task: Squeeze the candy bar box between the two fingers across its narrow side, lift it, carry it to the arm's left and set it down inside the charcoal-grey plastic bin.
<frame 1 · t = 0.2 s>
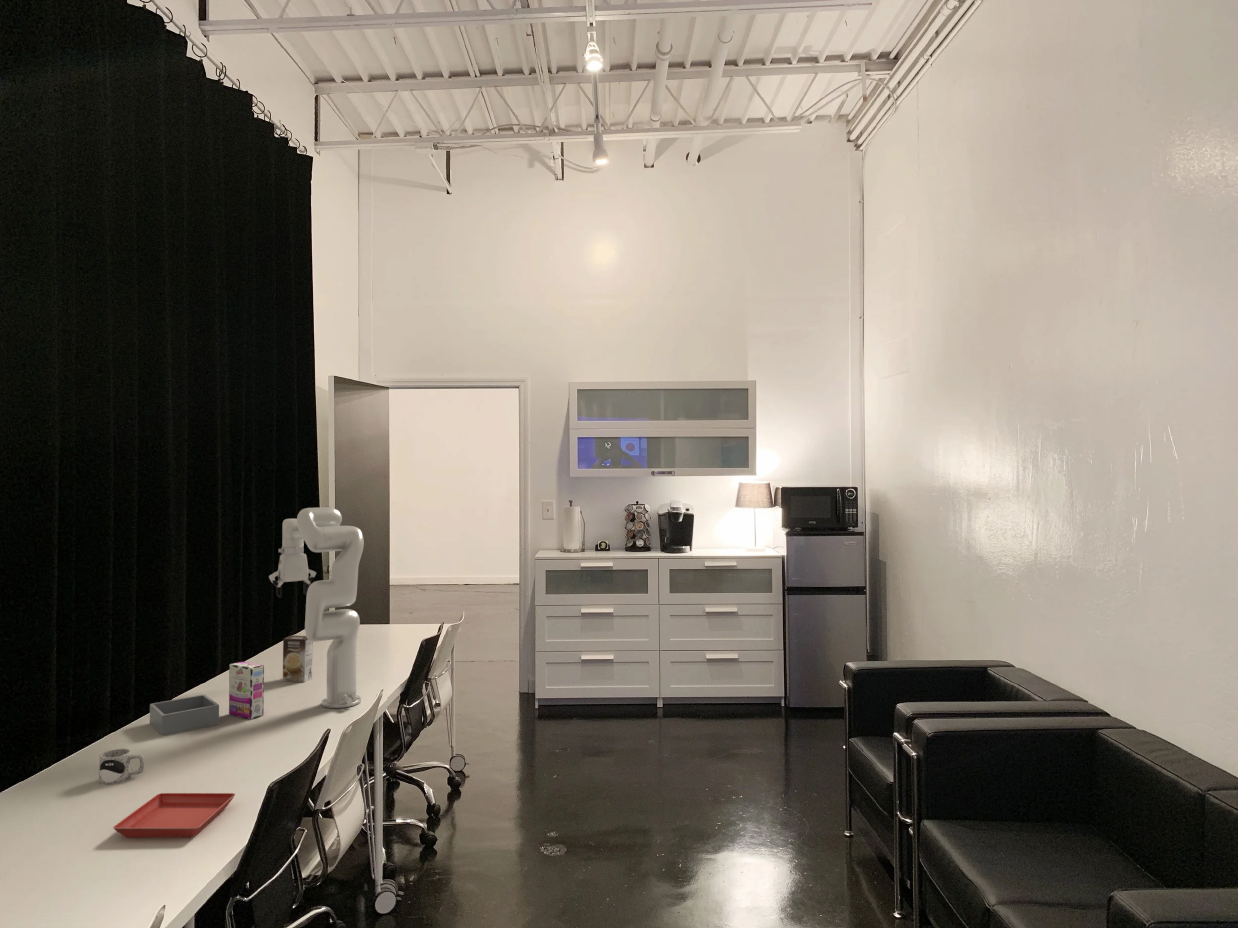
hand: (292, 595, 295), 31 cm above the table, fingers open, 9 cm apart
mug: (122, 779, 198), on the table
candy bar box: (246, 715, 249), on the table
bin: (184, 723, 240), on the table
plant saucer: (177, 824, 173), on the table
coffee box: (297, 680, 292), on the table
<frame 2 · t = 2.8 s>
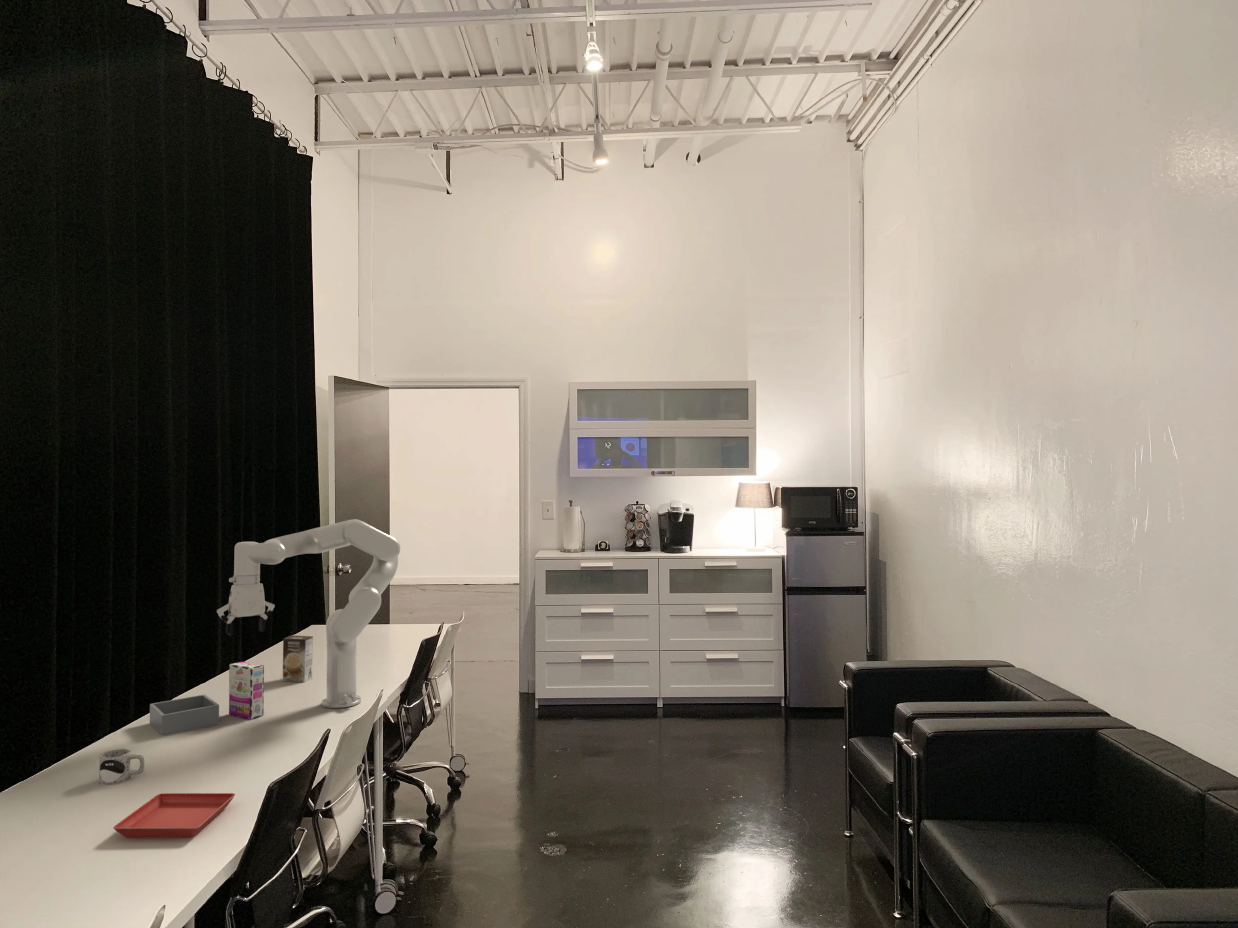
hand: (246, 633, 249), 26 cm above the table, fingers open, 9 cm apart
nothing on the table moved.
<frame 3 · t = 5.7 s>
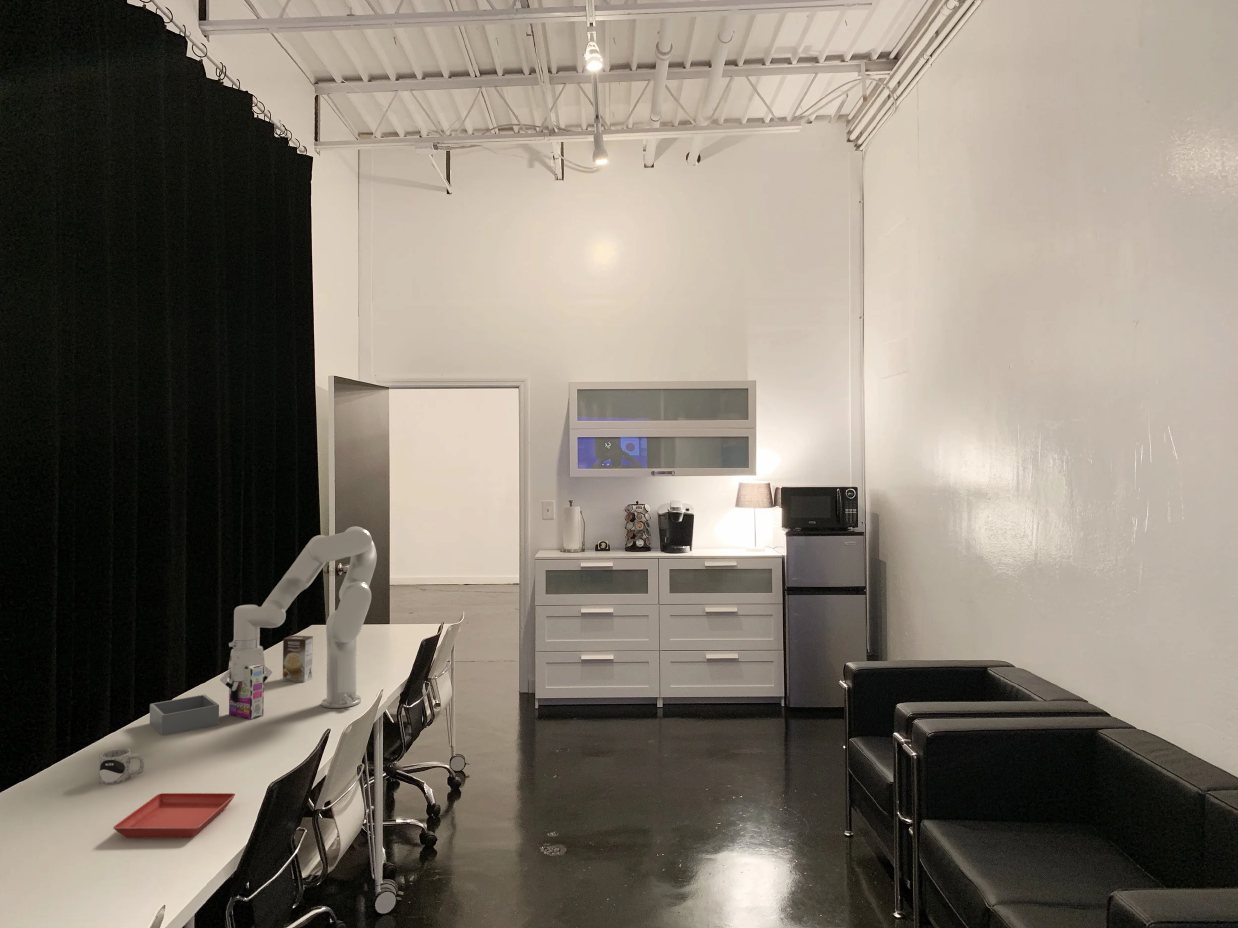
hand: (246, 699, 249), 5 cm above the table, fingers closed on candy bar box, 6 cm apart
candy bar box: (246, 715, 249), on the table, touching gripper
everything else where it was.
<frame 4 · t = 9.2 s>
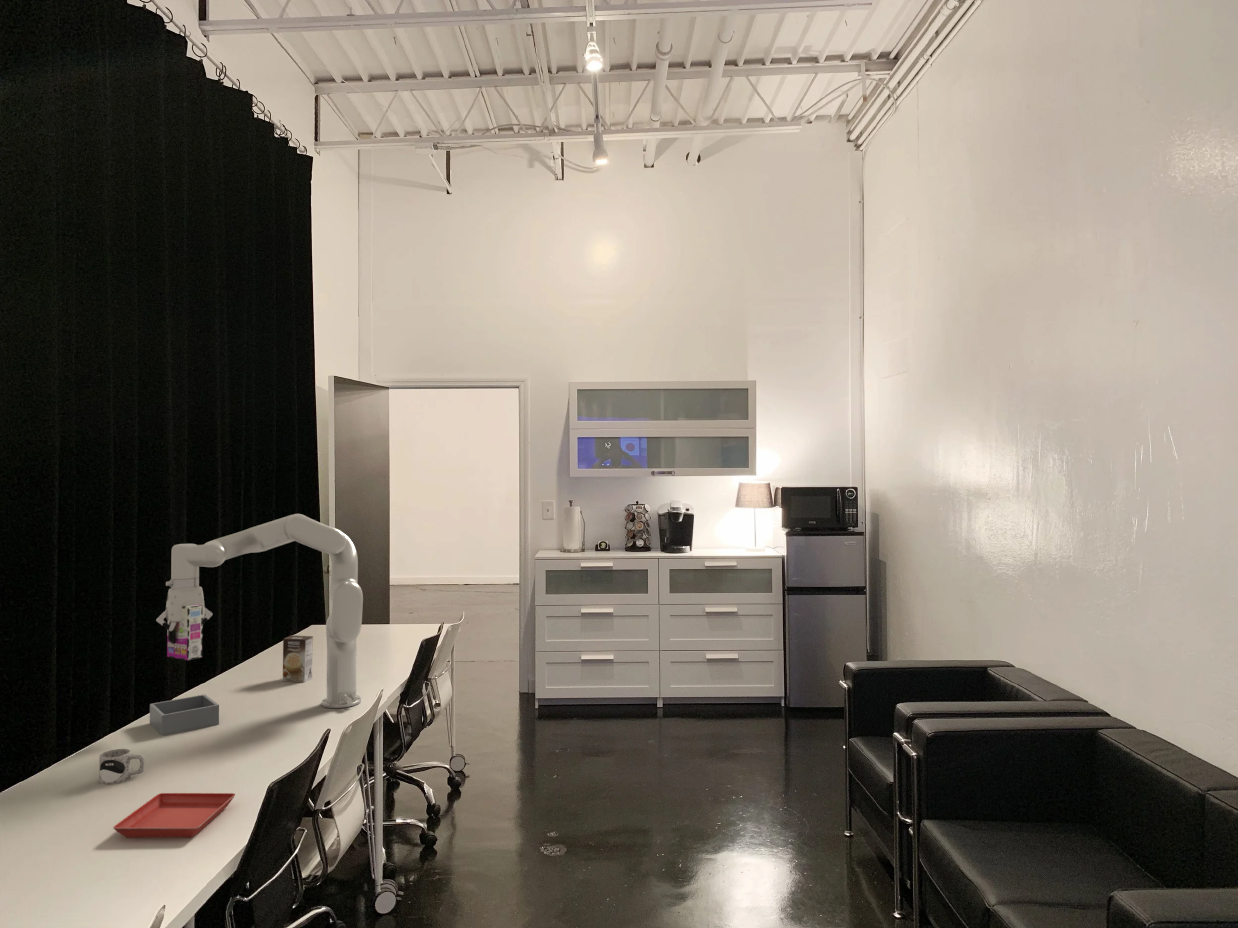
hand: (184, 640, 241), 26 cm above the table, fingers closed on candy bar box, 6 cm apart
candy bar box: (184, 657, 241), point 20 cm above the table, touching gripper
everything else where it was.
when the fingers open (8 cm above the table, at t = 13.1 s): candy bar box drops 2 cm, resting on bin.
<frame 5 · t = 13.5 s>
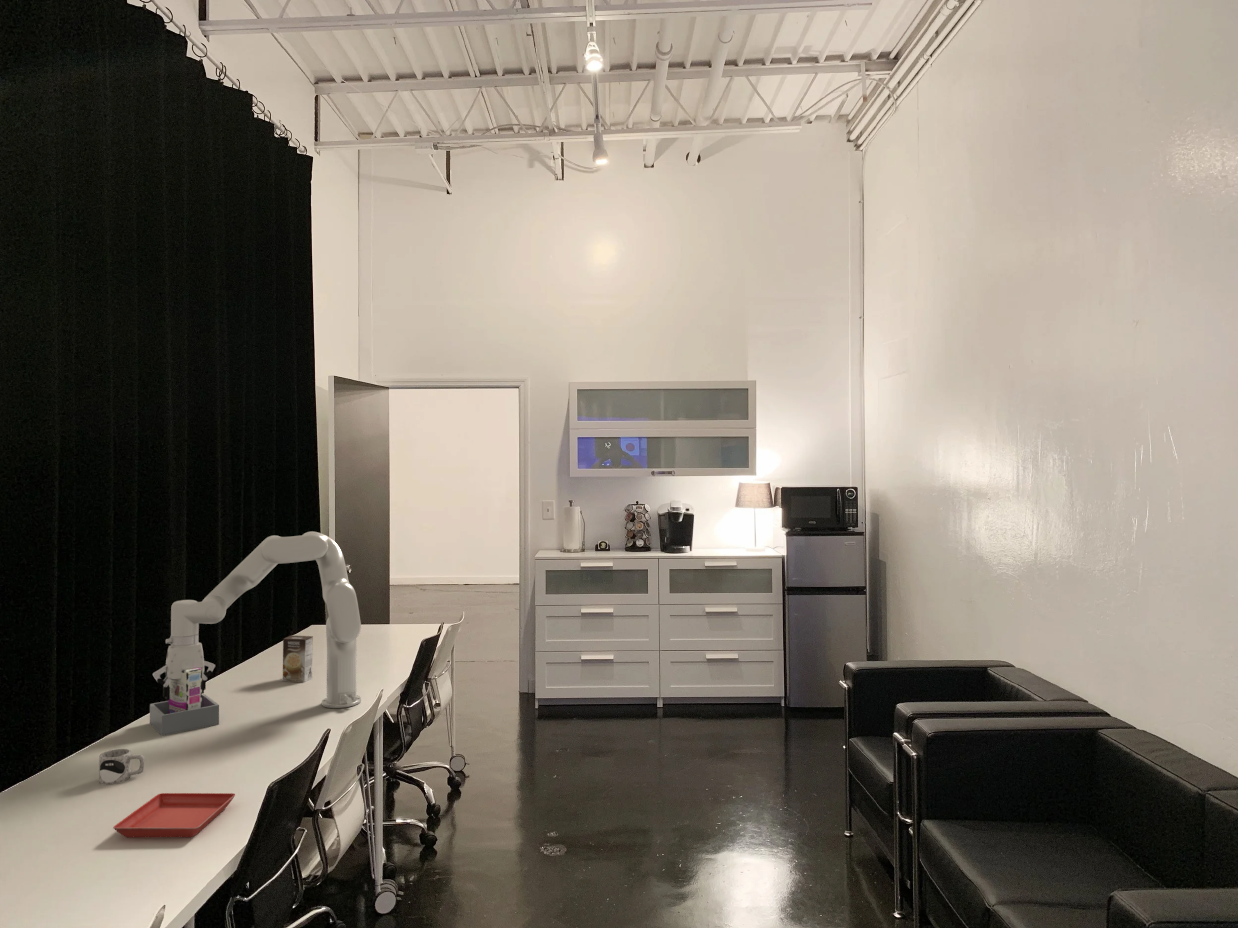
hand: (184, 695, 241), 9 cm above the table, fingers open, 9 cm apart
candy bar box: (185, 720, 241), point 1 cm above the table, touching bin
everything else where it was.
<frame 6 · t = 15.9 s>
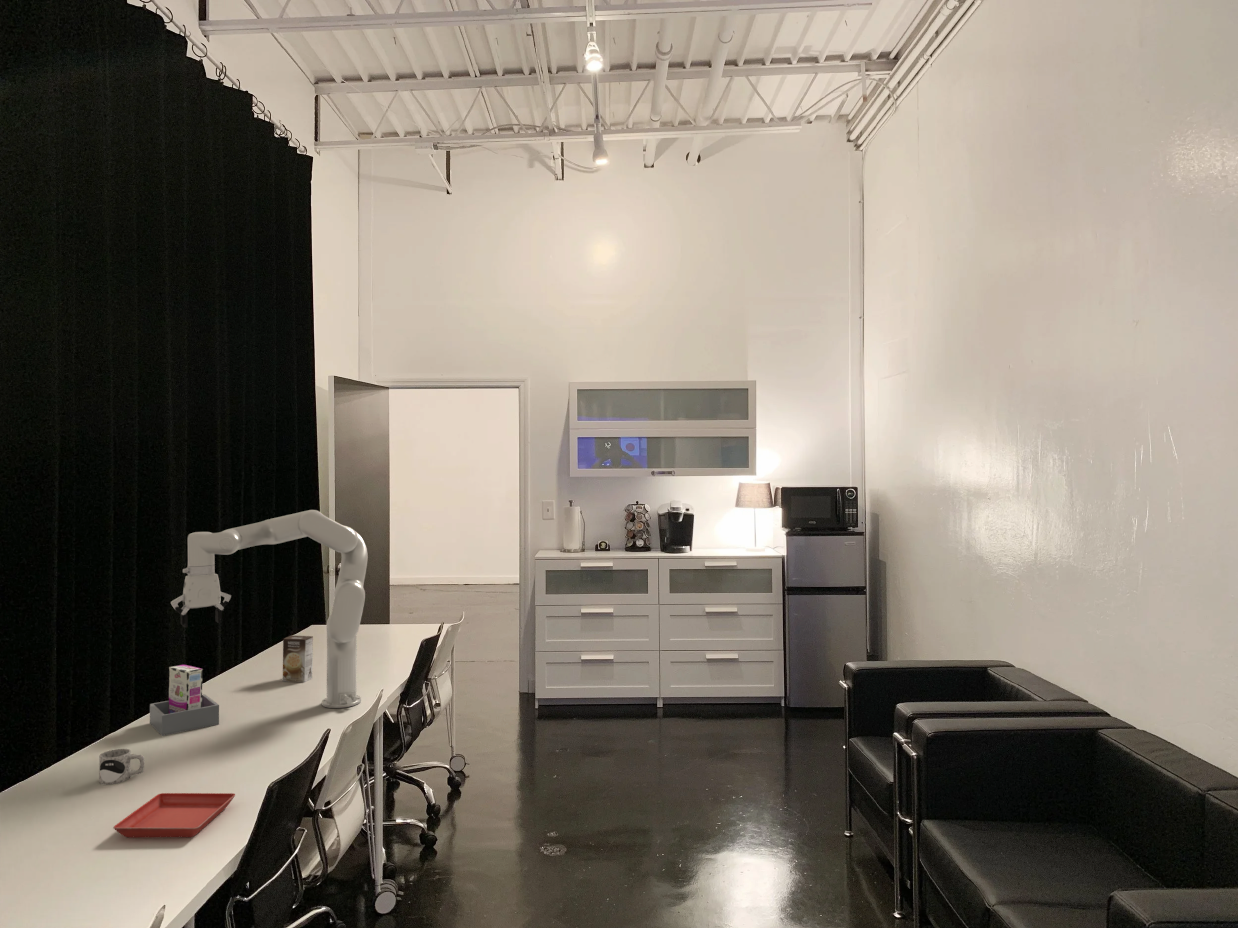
hand: (201, 624, 246), 30 cm above the table, fingers open, 9 cm apart
nothing on the table moved.
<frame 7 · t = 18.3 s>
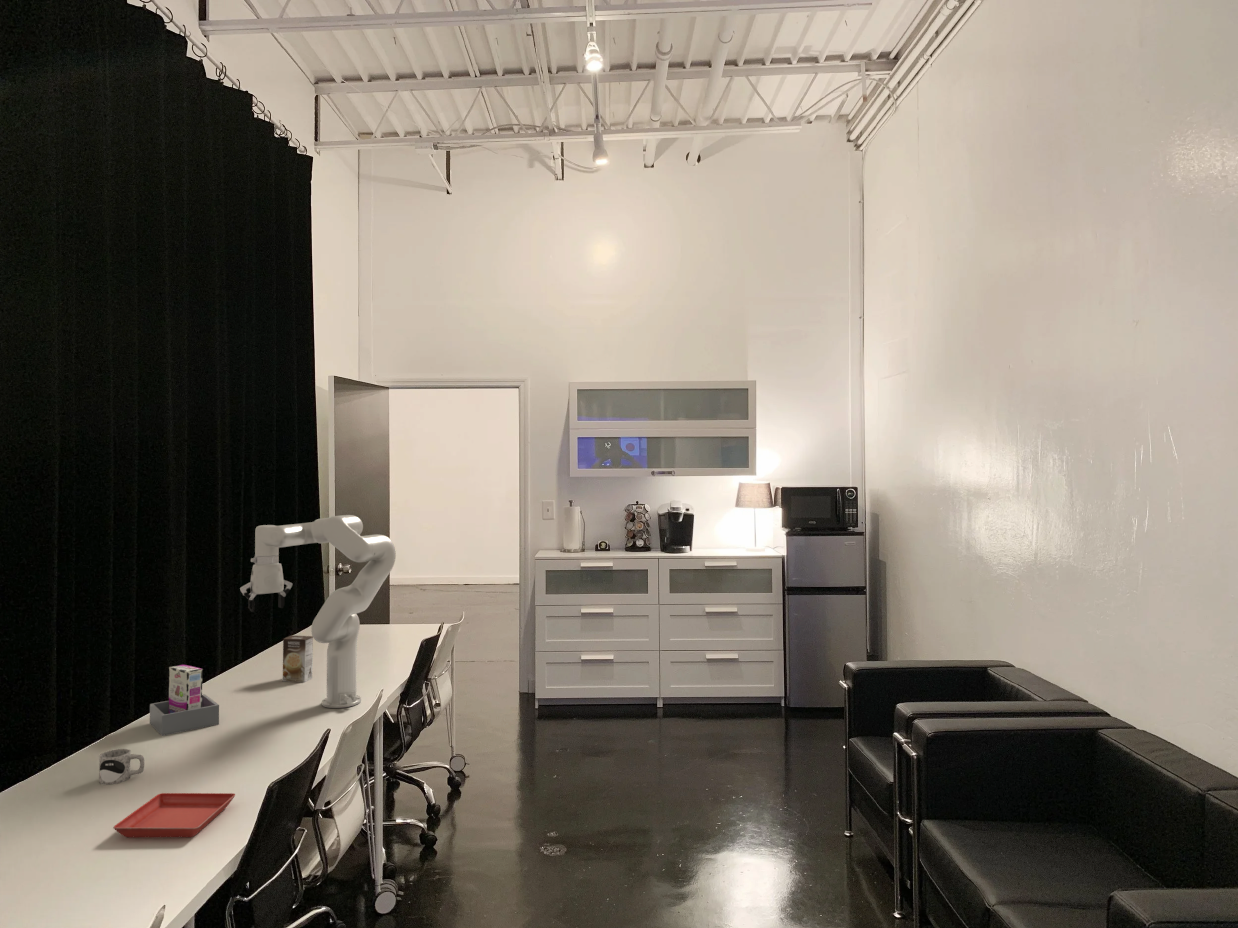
hand: (266, 609, 271), 30 cm above the table, fingers open, 9 cm apart
nothing on the table moved.
at the end: candy bar box inside the target area on the bin (0.3 cm from its centre), point 0.8 cm above the bin's base; the gripper is holding nothing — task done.
